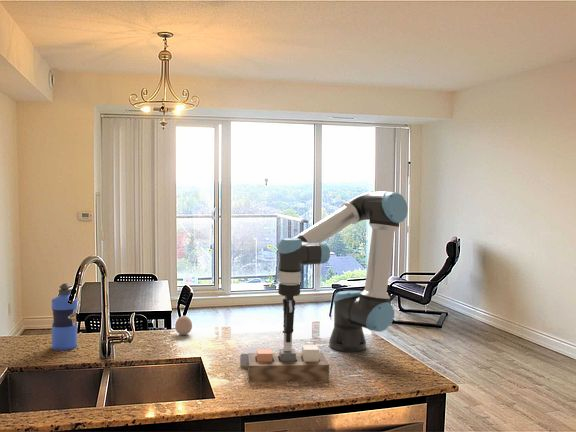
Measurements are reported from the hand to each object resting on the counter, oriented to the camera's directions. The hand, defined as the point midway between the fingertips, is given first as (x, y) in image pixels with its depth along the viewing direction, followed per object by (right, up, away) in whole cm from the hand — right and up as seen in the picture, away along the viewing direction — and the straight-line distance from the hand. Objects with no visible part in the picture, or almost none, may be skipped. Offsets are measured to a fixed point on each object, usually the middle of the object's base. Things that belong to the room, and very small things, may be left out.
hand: (287, 350), depth 179 cm
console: (0, -8, +1) cm, 9 cm away
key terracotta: (-8, -6, 0) cm, 10 cm away
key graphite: (0, -6, 0) cm, 6 cm away
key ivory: (+8, -5, +1) cm, 9 cm away
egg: (-45, -5, +45) cm, 64 cm away
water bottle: (-88, -5, +24) cm, 91 cm away
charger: (-11, -8, +14) cm, 20 cm away
